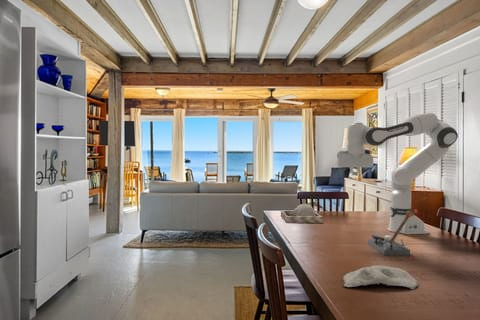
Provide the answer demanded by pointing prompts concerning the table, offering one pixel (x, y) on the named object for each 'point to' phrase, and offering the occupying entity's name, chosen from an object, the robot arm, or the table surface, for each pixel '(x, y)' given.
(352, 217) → the table surface
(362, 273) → the stone
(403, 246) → the stub toggle
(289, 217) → the driftwood frame
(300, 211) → the seashell
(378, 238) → the block
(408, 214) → the lever
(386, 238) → the button
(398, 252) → the panel
